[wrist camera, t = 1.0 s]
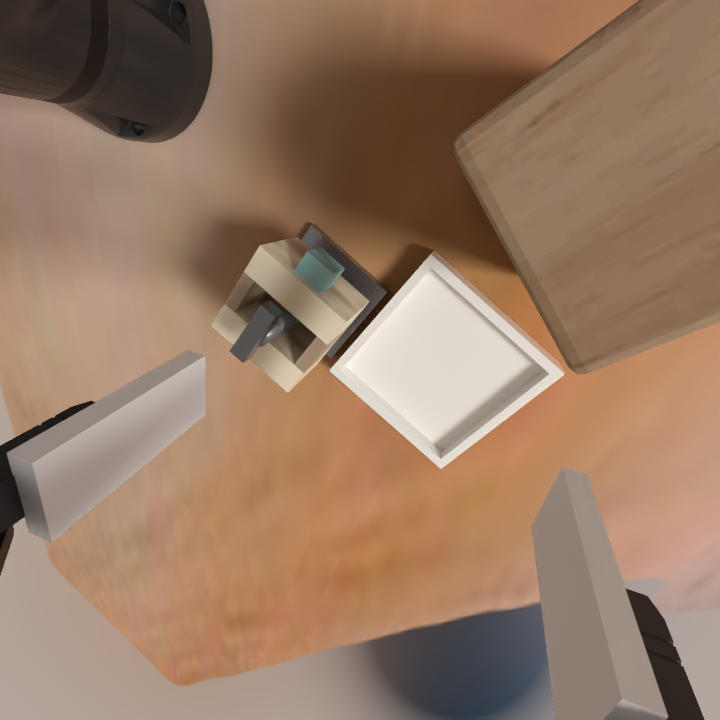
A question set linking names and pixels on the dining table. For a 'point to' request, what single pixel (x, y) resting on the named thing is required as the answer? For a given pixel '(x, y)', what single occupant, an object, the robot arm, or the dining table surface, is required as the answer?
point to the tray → (444, 363)
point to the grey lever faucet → (279, 320)
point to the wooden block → (612, 183)
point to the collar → (292, 306)
